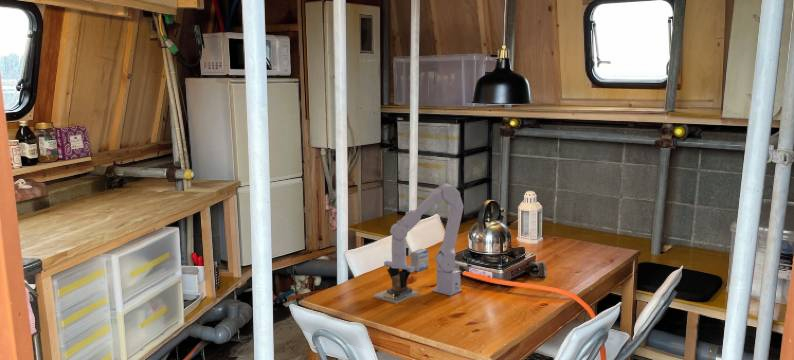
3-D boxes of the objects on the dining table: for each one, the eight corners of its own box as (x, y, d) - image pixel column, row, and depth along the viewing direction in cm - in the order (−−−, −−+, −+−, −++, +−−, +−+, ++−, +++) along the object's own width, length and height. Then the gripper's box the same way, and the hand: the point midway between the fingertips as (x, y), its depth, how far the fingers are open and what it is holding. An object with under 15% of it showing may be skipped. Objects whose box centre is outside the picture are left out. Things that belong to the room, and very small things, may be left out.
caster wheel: (526, 276, 277) (549, 274, 274) (522, 278, 267) (546, 276, 263) (524, 261, 278) (547, 259, 275) (521, 262, 267) (544, 261, 264)
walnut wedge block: (407, 289, 248) (406, 275, 247) (399, 293, 244) (398, 278, 244) (400, 288, 251) (400, 274, 250) (392, 291, 247) (392, 276, 246)
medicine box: (418, 272, 278) (418, 253, 277) (410, 270, 281) (410, 252, 280) (428, 267, 284) (428, 249, 283) (420, 266, 287) (420, 248, 286)
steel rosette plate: (418, 294, 248) (418, 288, 247) (396, 303, 237) (396, 298, 237) (396, 288, 255) (396, 283, 255) (373, 297, 245) (373, 291, 245)
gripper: (378, 252, 247) (379, 285, 249) (406, 258, 238) (406, 292, 239) (390, 249, 252) (391, 281, 254) (417, 254, 243) (418, 287, 245)
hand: (399, 286), depth 247 cm, fingers closed on walnut wedge block, 4 cm apart
